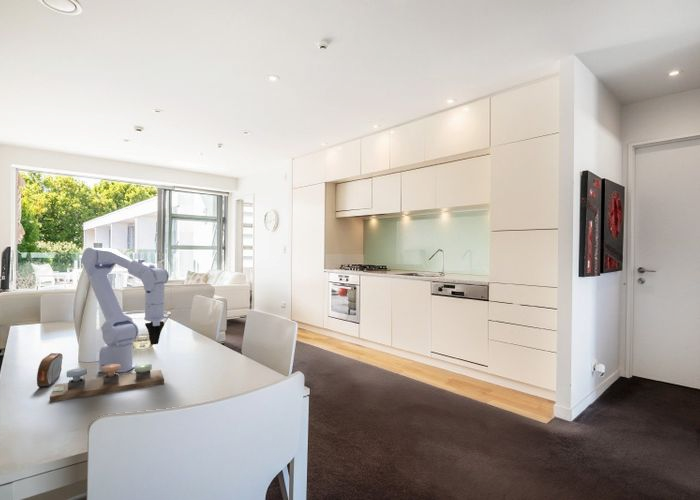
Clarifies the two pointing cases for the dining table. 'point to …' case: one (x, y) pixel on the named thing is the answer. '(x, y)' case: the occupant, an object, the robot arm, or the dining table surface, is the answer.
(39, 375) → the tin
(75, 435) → the dining table surface
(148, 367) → the sage button
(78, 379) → the slate button
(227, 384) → the dining table surface
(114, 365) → the terracotta button
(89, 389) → the button board
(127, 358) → the robot arm
